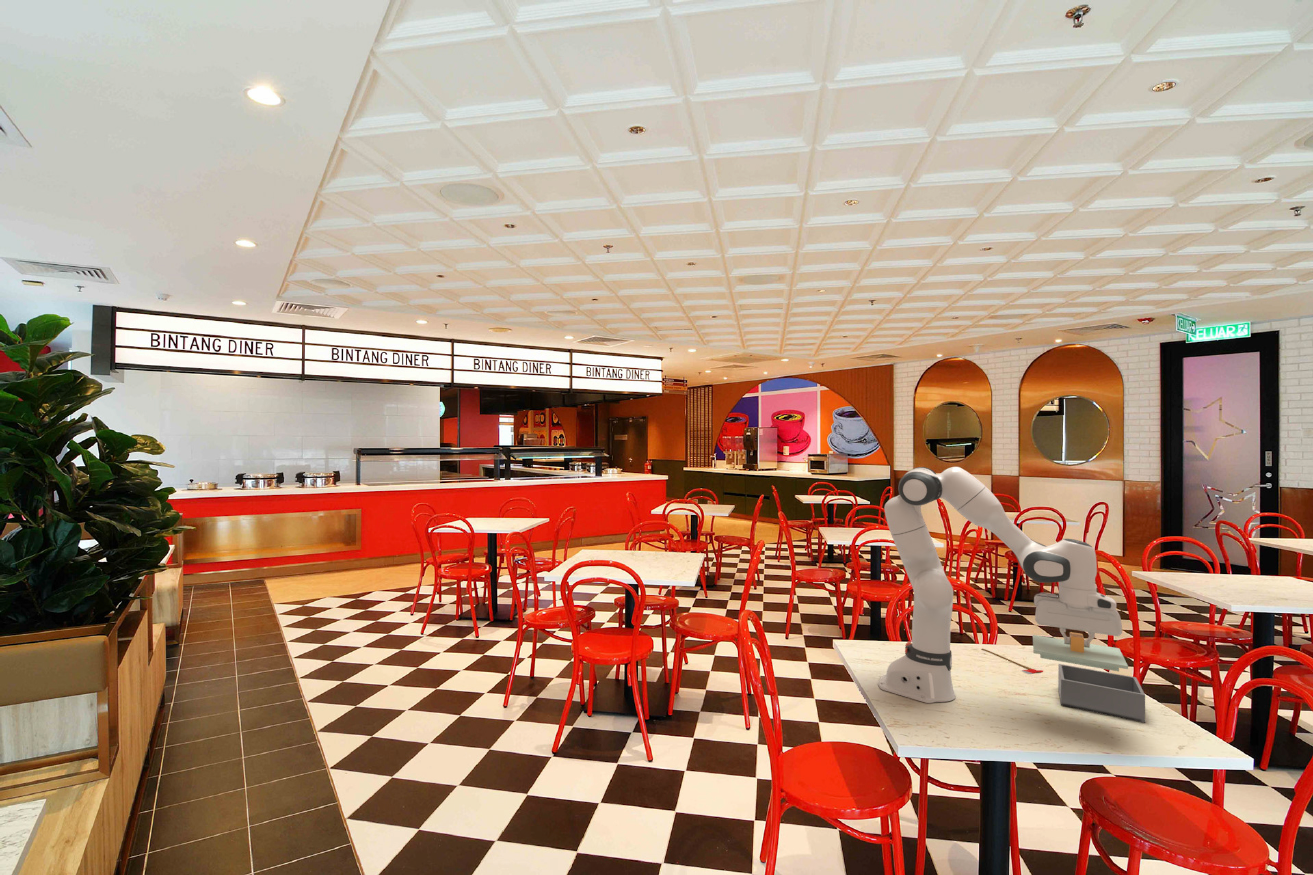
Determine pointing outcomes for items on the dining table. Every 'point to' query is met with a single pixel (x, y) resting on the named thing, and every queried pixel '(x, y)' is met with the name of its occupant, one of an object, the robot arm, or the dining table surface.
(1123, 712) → the tub
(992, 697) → the dining table surface
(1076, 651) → the lid
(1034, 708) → the dining table surface
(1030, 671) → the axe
